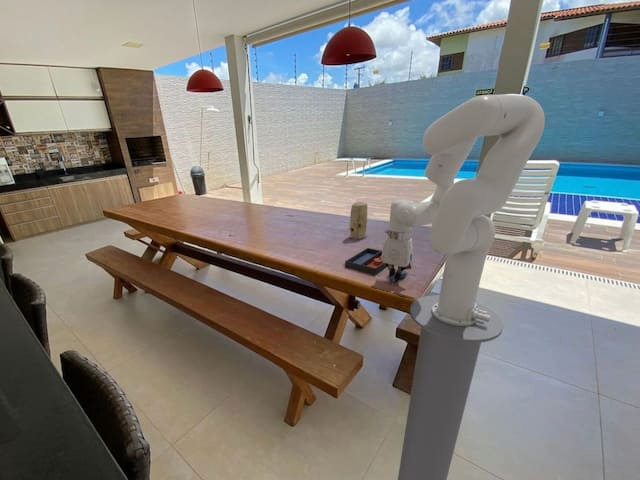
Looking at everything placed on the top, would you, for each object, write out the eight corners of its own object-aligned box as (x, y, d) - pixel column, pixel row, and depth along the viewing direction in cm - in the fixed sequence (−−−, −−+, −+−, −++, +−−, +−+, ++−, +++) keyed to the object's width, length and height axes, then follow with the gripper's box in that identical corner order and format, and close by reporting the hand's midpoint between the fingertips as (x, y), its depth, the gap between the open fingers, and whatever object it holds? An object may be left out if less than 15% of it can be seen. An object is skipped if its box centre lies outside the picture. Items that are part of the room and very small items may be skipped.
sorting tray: (396, 259, 137) (396, 253, 135) (375, 275, 123) (375, 268, 122) (367, 253, 145) (367, 247, 144) (345, 267, 132) (345, 261, 131)
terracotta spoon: (371, 264, 132) (372, 258, 131) (383, 256, 139) (383, 250, 138) (380, 266, 129) (381, 260, 128) (392, 258, 137) (392, 252, 136)
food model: (361, 235, 169) (363, 199, 161) (369, 239, 164) (372, 202, 155) (346, 239, 166) (348, 202, 157) (353, 242, 160) (355, 205, 152)
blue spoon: (407, 275, 122) (407, 269, 121) (395, 285, 114) (395, 279, 113) (397, 272, 124) (397, 266, 123) (385, 282, 117) (385, 276, 116)
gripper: (374, 233, 113) (371, 278, 120) (417, 240, 103) (411, 289, 111) (383, 228, 118) (379, 272, 125) (425, 235, 108) (418, 281, 116)
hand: (394, 279), depth 118 cm, fingers closed on blue spoon, 1 cm apart
